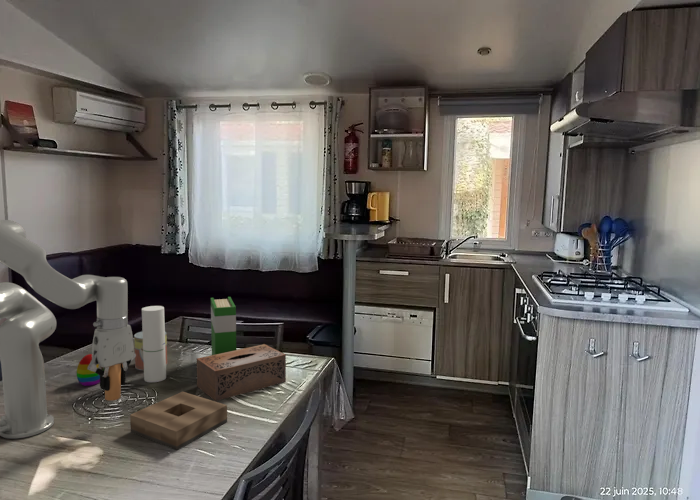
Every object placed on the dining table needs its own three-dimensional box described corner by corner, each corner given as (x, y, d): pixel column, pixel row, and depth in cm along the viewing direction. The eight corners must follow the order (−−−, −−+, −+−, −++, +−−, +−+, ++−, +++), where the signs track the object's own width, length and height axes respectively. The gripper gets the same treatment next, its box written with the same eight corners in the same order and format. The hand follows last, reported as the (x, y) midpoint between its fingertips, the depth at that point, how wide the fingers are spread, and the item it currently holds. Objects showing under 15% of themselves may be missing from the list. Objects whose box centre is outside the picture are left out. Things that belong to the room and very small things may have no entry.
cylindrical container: (169, 375, 174) (167, 306, 171) (160, 382, 167) (157, 311, 164) (150, 374, 175) (148, 305, 172) (140, 381, 168) (137, 310, 164)
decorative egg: (91, 377, 171) (90, 349, 170) (109, 380, 168) (108, 352, 167) (71, 385, 163) (69, 356, 162) (90, 389, 161) (88, 359, 160)
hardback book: (211, 357, 193) (210, 297, 190) (231, 355, 195) (230, 296, 192) (215, 373, 176) (214, 308, 173) (236, 371, 179) (235, 306, 176)
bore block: (176, 450, 124) (176, 431, 124) (130, 432, 133) (130, 414, 132) (227, 421, 140) (226, 405, 139) (182, 407, 149) (182, 391, 148)
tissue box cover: (215, 401, 153) (215, 371, 152) (197, 387, 164) (196, 358, 163) (285, 382, 170) (285, 354, 168) (264, 370, 181) (264, 344, 179)
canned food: (132, 371, 177) (131, 339, 175) (137, 361, 187) (136, 330, 186) (166, 369, 180) (165, 337, 178) (168, 358, 190) (167, 328, 189)
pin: (110, 401, 133) (110, 359, 132) (101, 398, 135) (101, 356, 134) (124, 397, 137) (123, 355, 136) (114, 393, 139) (114, 352, 137)
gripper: (91, 331, 125) (92, 400, 127) (147, 318, 139) (147, 380, 141) (74, 326, 128) (75, 393, 130) (130, 314, 143) (130, 374, 145)
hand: (112, 386), depth 136 cm, fingers closed on pin, 4 cm apart
